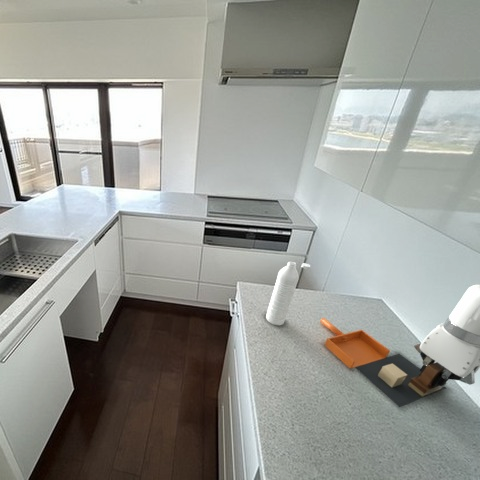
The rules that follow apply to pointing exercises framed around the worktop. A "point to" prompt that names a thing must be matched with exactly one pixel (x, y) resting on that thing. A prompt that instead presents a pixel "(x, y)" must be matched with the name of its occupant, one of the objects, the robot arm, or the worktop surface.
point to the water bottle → (283, 293)
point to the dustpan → (354, 346)
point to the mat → (398, 393)
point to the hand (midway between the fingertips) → (429, 379)
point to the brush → (427, 379)
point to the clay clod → (392, 375)
